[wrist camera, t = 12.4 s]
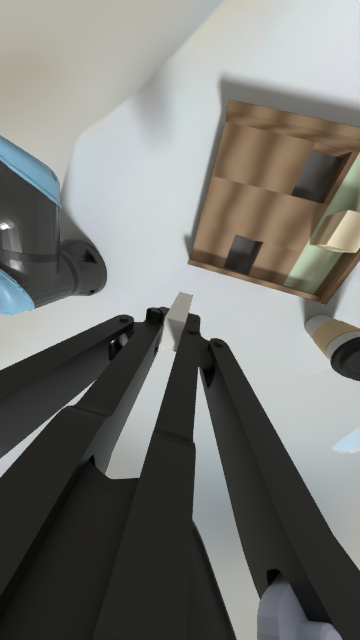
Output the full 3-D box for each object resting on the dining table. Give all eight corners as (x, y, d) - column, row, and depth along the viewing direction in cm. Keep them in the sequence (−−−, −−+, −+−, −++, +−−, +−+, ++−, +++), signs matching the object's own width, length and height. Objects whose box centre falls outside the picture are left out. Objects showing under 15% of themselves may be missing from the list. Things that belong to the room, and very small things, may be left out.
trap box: (190, 262, 38) (186, 264, 33) (226, 123, 27) (230, 93, 22) (309, 296, 36) (325, 304, 31) (400, 163, 25) (450, 141, 20)
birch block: (309, 245, 30) (326, 244, 26) (326, 215, 28) (348, 209, 23) (334, 251, 30) (356, 252, 25) (354, 222, 28) (381, 218, 23)
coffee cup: (325, 343, 40) (381, 390, 27) (289, 335, 41) (326, 376, 28) (349, 312, 36) (429, 349, 23) (308, 303, 37) (362, 335, 24)
